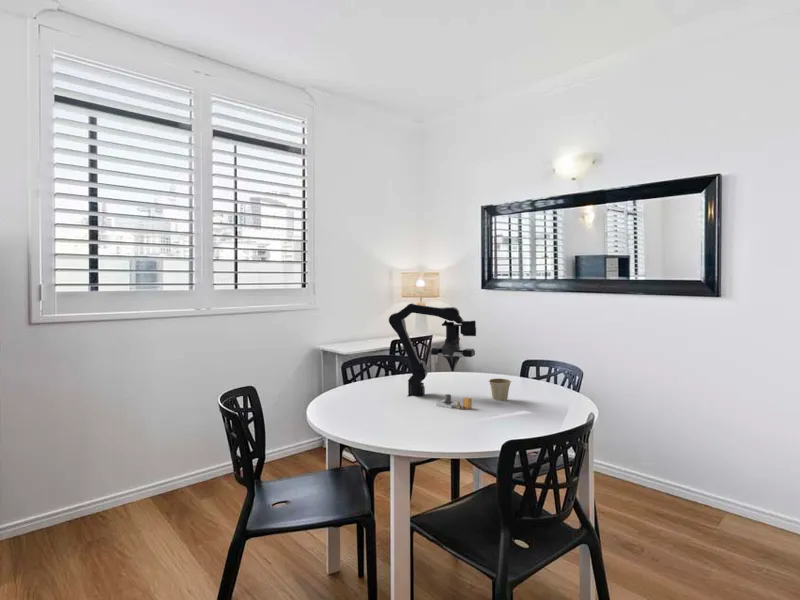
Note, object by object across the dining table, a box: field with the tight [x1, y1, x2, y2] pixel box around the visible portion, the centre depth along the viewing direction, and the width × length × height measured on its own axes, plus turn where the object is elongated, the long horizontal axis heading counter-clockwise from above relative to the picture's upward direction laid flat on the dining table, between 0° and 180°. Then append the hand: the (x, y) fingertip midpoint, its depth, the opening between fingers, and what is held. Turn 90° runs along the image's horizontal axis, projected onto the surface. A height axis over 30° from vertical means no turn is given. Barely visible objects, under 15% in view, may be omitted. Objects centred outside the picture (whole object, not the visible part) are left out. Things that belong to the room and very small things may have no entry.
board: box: [444, 393, 461, 410], centre depth 197 cm, size 22×22×5 cm
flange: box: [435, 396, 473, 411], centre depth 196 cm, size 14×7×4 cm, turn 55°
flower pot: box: [488, 378, 512, 402], centre depth 207 cm, size 9×9×9 cm
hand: (452, 371), depth 212 cm, fingers closed
